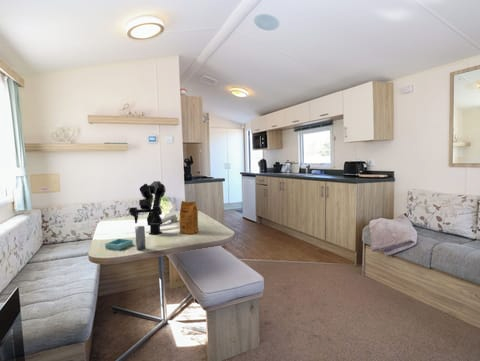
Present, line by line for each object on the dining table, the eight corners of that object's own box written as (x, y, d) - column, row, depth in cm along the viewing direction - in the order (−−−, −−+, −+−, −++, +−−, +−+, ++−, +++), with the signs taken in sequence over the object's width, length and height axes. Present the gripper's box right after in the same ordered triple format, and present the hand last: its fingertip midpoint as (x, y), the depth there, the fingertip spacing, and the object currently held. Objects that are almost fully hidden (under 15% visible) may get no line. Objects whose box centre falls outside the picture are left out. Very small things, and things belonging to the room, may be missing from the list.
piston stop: (140, 247, 167) (139, 225, 165) (147, 248, 165) (146, 226, 164) (134, 250, 162) (133, 227, 161) (141, 250, 160) (140, 228, 159)
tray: (119, 243, 176) (118, 238, 175) (132, 244, 172) (132, 239, 172) (105, 248, 166) (105, 243, 165) (119, 250, 162) (119, 245, 162)
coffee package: (185, 229, 202) (183, 199, 200) (200, 231, 198) (199, 200, 196) (177, 233, 193) (175, 202, 191) (193, 235, 189) (191, 202, 187)
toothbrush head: (148, 222, 213) (173, 211, 233) (150, 230, 214) (174, 219, 234) (153, 223, 210) (177, 212, 230) (154, 231, 211) (179, 220, 231)
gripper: (129, 194, 173) (123, 216, 163) (159, 193, 174) (156, 215, 164) (134, 205, 182) (129, 226, 172) (163, 203, 182) (160, 224, 172)
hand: (143, 222), depth 170 cm, fingers open, 9 cm apart
